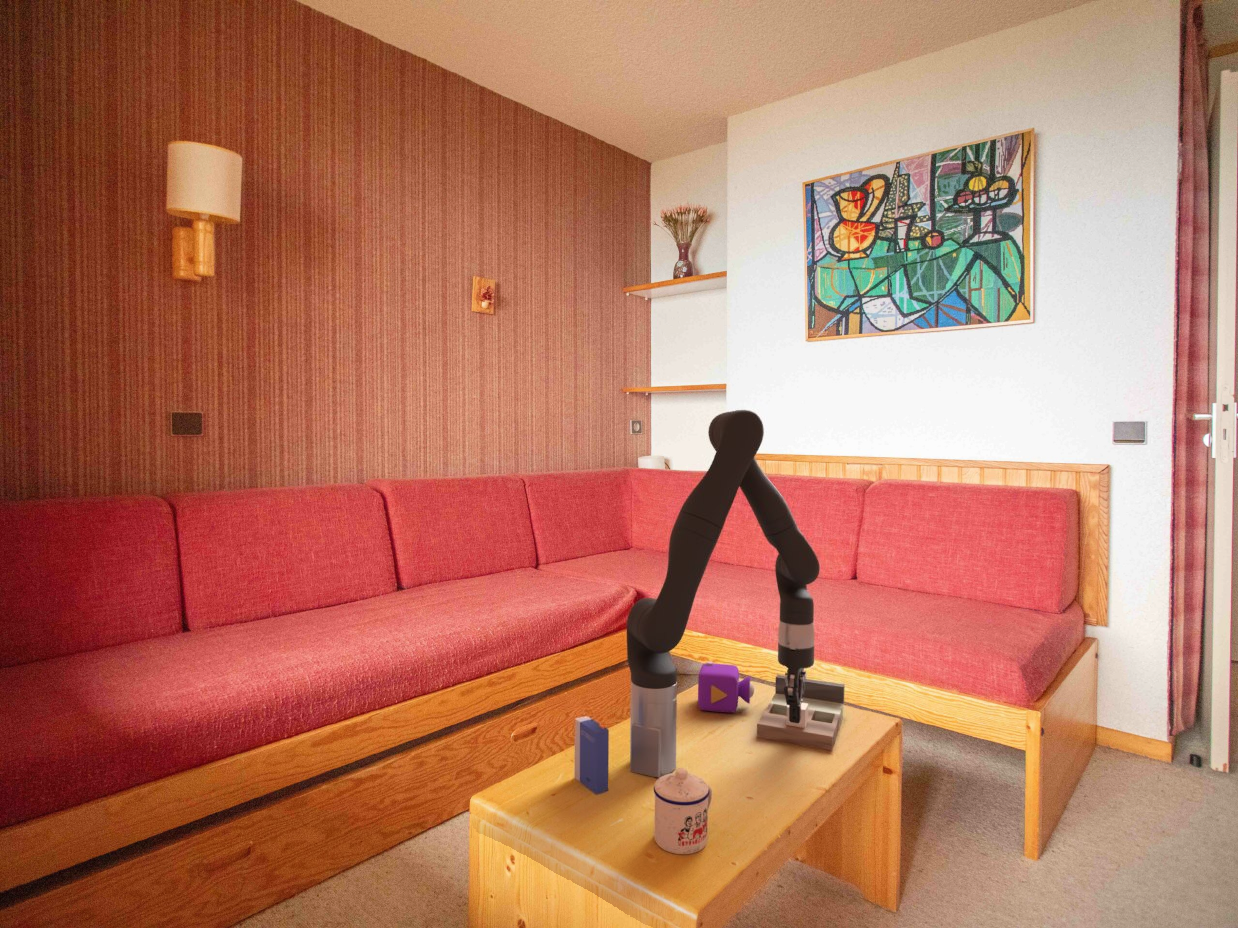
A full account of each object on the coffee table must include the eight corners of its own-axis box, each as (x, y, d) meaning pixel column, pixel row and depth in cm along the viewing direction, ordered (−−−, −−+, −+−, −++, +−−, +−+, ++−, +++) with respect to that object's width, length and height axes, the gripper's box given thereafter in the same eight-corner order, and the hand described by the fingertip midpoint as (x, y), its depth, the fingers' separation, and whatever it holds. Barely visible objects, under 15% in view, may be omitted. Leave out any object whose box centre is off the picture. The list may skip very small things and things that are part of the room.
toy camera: (756, 715, 167) (757, 674, 167) (699, 715, 167) (699, 673, 167) (749, 698, 178) (750, 659, 177) (695, 698, 178) (695, 658, 178)
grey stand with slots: (832, 750, 149) (832, 717, 148) (756, 736, 155) (757, 705, 155) (843, 712, 169) (844, 684, 169) (776, 702, 175) (777, 674, 175)
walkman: (608, 790, 131) (608, 727, 131) (595, 794, 130) (596, 730, 129) (586, 773, 138) (586, 713, 137) (574, 777, 136) (574, 716, 136)
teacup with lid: (683, 863, 109) (683, 790, 109) (641, 838, 116) (642, 769, 115) (731, 834, 118) (732, 765, 117) (689, 812, 124) (690, 747, 124)
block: (805, 728, 153) (805, 709, 153) (786, 724, 155) (786, 706, 154) (807, 721, 157) (808, 703, 156) (789, 718, 158) (790, 700, 158)
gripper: (784, 631, 158) (783, 707, 159) (771, 648, 146) (770, 730, 147) (818, 635, 155) (817, 713, 156) (809, 652, 143) (807, 736, 144)
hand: (794, 721), depth 151 cm, fingers closed
